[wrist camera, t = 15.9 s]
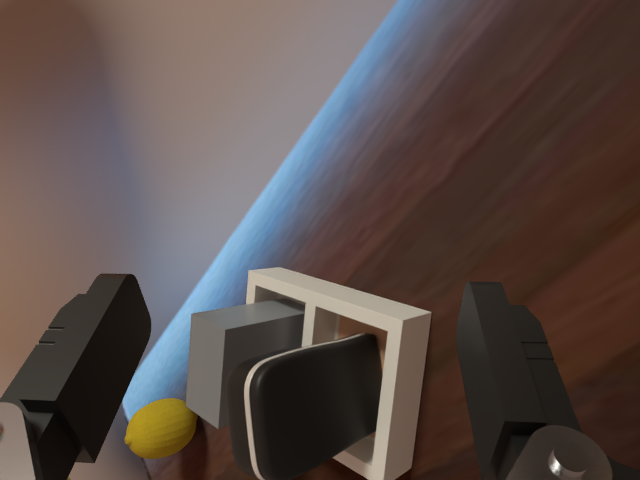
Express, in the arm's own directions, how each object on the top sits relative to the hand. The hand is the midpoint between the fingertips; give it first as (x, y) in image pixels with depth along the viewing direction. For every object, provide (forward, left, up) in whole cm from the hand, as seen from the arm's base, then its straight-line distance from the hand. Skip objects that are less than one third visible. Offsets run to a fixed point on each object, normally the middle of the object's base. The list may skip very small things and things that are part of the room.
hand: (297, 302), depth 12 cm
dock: (+11, -15, -21) cm, 28 cm away
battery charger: (+11, -12, -20) cm, 26 cm away
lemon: (+24, -34, -21) cm, 47 cm away
